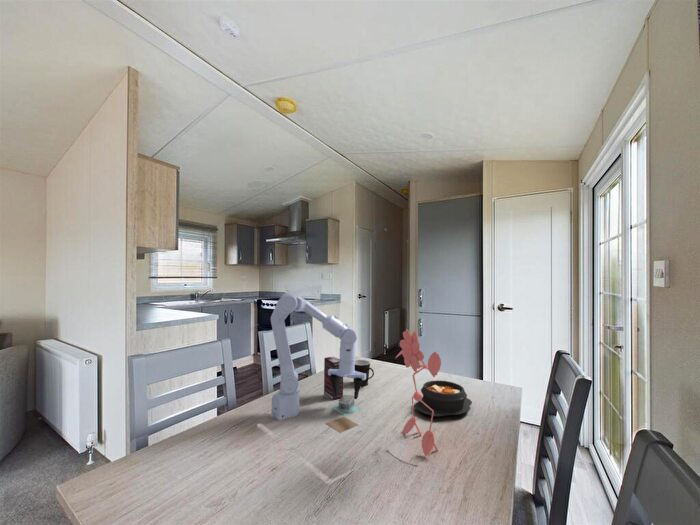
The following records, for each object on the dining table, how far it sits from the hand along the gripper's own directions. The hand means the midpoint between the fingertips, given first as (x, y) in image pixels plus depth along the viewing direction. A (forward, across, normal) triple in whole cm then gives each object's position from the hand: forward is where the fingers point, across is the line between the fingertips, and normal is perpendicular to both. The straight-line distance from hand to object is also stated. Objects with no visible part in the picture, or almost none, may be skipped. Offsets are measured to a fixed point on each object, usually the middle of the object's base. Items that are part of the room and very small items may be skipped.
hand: (346, 396), depth 120 cm
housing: (+4, 0, 0) cm, 5 cm away
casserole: (+6, +34, +16) cm, 38 cm away
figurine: (+6, +26, -15) cm, 31 cm away
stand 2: (+6, +3, -12) cm, 13 cm away
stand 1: (+6, 0, 0) cm, 6 cm away
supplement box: (+6, -9, +10) cm, 15 cm away
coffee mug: (+6, -3, +28) cm, 29 cm away
